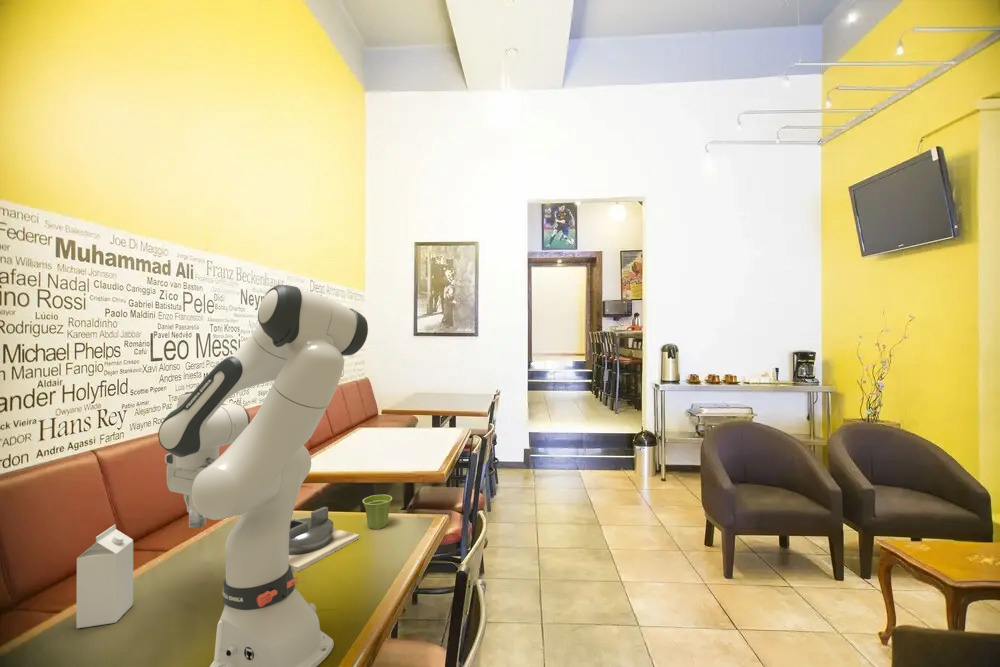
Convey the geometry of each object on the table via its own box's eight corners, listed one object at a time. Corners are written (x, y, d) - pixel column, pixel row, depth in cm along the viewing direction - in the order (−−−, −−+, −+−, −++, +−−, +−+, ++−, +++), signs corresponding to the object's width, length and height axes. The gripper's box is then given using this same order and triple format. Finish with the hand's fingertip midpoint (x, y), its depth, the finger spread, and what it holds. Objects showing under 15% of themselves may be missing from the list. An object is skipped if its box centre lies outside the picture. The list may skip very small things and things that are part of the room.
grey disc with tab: (345, 535, 135) (344, 511, 135) (299, 558, 121) (299, 531, 121) (308, 526, 142) (308, 503, 142) (262, 547, 128) (262, 521, 128)
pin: (208, 523, 109) (208, 491, 109) (194, 529, 106) (194, 495, 106) (200, 521, 110) (200, 489, 110) (185, 526, 107) (186, 493, 107)
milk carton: (75, 629, 94) (76, 539, 94) (96, 610, 101) (96, 526, 101) (115, 623, 96) (116, 534, 96) (133, 605, 103) (133, 522, 103)
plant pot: (360, 523, 148) (360, 497, 148) (389, 518, 152) (389, 492, 152) (364, 533, 140) (364, 506, 140) (395, 528, 144) (394, 501, 144)
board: (359, 538, 136) (359, 534, 136) (297, 571, 117) (297, 566, 117) (310, 526, 146) (310, 522, 146) (245, 554, 127) (245, 549, 127)
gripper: (237, 457, 107) (237, 515, 106) (188, 449, 116) (188, 503, 115) (209, 464, 101) (210, 525, 101) (160, 455, 110) (160, 511, 110)
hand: (198, 513), depth 108 cm, fingers closed on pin, 3 cm apart
